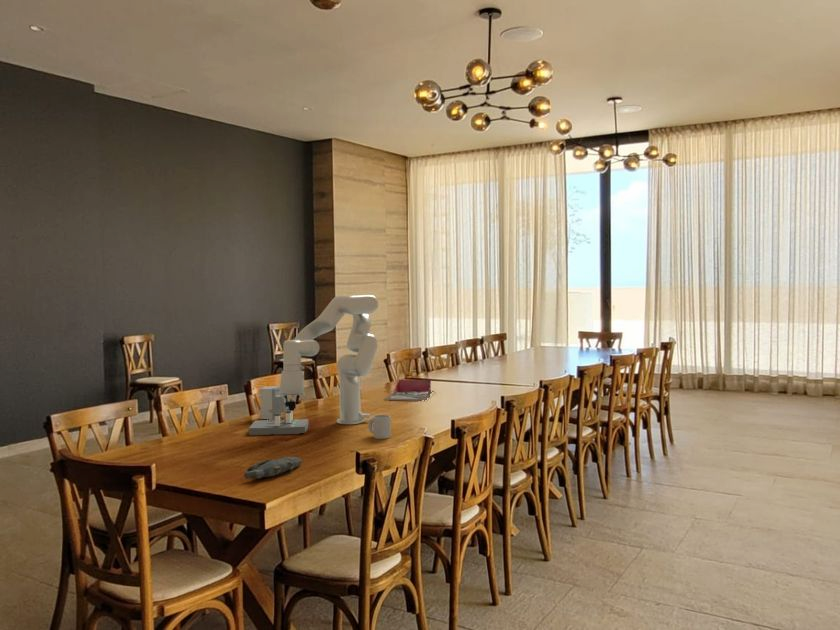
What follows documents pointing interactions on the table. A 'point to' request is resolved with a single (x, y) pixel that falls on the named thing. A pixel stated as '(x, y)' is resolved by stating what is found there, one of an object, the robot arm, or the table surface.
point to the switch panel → (278, 427)
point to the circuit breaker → (271, 402)
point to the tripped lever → (277, 419)
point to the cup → (380, 426)
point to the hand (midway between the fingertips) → (292, 410)
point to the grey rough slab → (272, 467)
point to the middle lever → (288, 416)
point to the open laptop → (411, 390)
